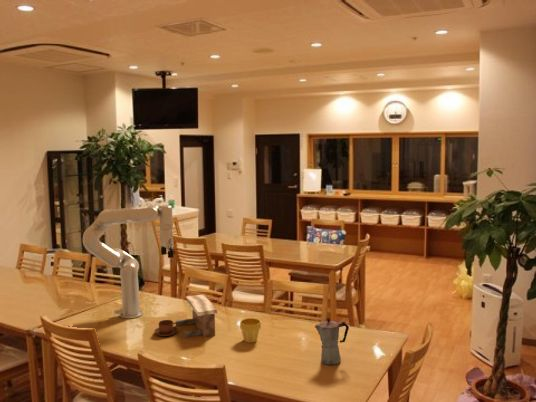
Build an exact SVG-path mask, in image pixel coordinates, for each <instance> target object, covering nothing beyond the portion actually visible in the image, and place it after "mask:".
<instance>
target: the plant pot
mask: <svg viewBox="0 0 536 402" xmlns="http://www.w3.org/2000/svg"><path fill="white" fill-rule="evenodd" d="M261 322H262V321H261V320H260V319H258V318H255V317H248V318H243V319H242V320H240V322H239V325H240V326H239V327H240V330H241V334H242V336H243V337H242V338H243V341H244V342H245V343H249V344H250V343H251V344H252V343H256V342H257V341H258V337H259V333H260V329H262V328H261V327H262V326H261V325H262V323H261Z"/></svg>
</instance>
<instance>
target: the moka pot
mask: <svg viewBox="0 0 536 402" xmlns="http://www.w3.org/2000/svg"><path fill="white" fill-rule="evenodd" d="M342 327H345V331H344V334H343V338H342V340H339V337H340V336H339V335H340V334H339V333H340V328H342ZM314 328H315V329H316V330H317V333H318V335H319V338H320V342H321V355H320V357H321V359H320V362H321V363H323V364H324V365H326V366H327V365H329V366H333V365H337V364H340V363H341V360H342V358H341V353H340V349H339V343H340V344H341V343H342V344H343V343H345V342H346V339H347V336H348V332H349V329H350V327H349V325H348V324H347V322H345V321H342V322H336V321H333V320H332V321H331V319H330V318H326V321H321V322H319V323H318V324H315V326H314ZM338 340H339V341H338Z"/></svg>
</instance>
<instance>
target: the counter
mask: <svg viewBox="0 0 536 402" xmlns="http://www.w3.org/2000/svg"><path fill="white" fill-rule="evenodd" d="M185 298H186V299H185V300H186V302H187V303H188V304H189V306H190V307H191V311H192V314H191V315H192V318H187V319H179V320H175V322H176V323H177V324H178V326H177V327H179V326H180V327H181V326H187V325H193V324H194V325H195V326H196V328H197V329H195V330H193V329H192V330H188V331H187V330H186V331H182V338H190V337H197V336H203V338H208V337H214V336H216V319H215V317H216V314H218V309H217V308H216V306H214V305H213V303H212V302H211V301H210V299H209V298H207V296H206V295H205V294H196V295H189V296H186V297H185Z"/></svg>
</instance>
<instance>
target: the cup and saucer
mask: <svg viewBox="0 0 536 402" xmlns="http://www.w3.org/2000/svg"><path fill="white" fill-rule="evenodd" d="M174 324H175V326H174ZM178 327H179V326H178V324H177V323H176V321H174V322H173V320H172V319H163V320H159V321H158V327H157V328H156V329H155V330H154V331H153V332H154V334H155V335H157V336H159V337H160V336H161V337H168V336H173V335H174V334H176V333H178V331H179V330H178Z"/></svg>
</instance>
